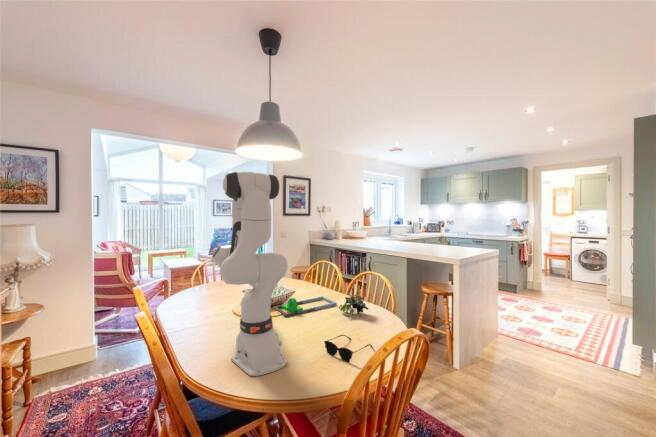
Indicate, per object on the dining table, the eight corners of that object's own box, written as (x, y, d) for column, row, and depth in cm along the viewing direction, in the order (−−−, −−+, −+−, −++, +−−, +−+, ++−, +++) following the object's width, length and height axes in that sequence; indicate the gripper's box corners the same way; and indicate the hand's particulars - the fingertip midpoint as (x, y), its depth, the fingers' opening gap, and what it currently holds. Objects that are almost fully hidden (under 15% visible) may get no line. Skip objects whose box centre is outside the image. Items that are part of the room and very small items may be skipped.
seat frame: (314, 310, 155) (314, 308, 155) (285, 317, 145) (285, 315, 145) (301, 302, 168) (301, 300, 168) (273, 308, 158) (273, 306, 158)
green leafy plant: (358, 323, 151) (373, 305, 149) (348, 327, 141) (364, 307, 138) (342, 306, 158) (356, 289, 155) (332, 309, 147) (346, 290, 145)
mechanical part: (302, 311, 154) (302, 297, 154) (294, 314, 150) (294, 299, 149) (290, 306, 162) (289, 292, 162) (281, 308, 158) (281, 295, 158)
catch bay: (336, 305, 163) (336, 302, 163) (314, 310, 155) (314, 307, 155) (322, 298, 176) (322, 296, 176) (301, 303, 168) (301, 300, 168)
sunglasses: (323, 352, 109) (324, 340, 109) (348, 341, 121) (348, 329, 121) (352, 365, 100) (352, 351, 100) (375, 351, 112) (375, 338, 112)
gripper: (250, 270, 132) (270, 287, 137) (238, 263, 149) (256, 279, 154) (241, 281, 129) (261, 298, 135) (230, 273, 146) (248, 288, 152)
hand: (258, 288), depth 145 cm, fingers open, 7 cm apart
